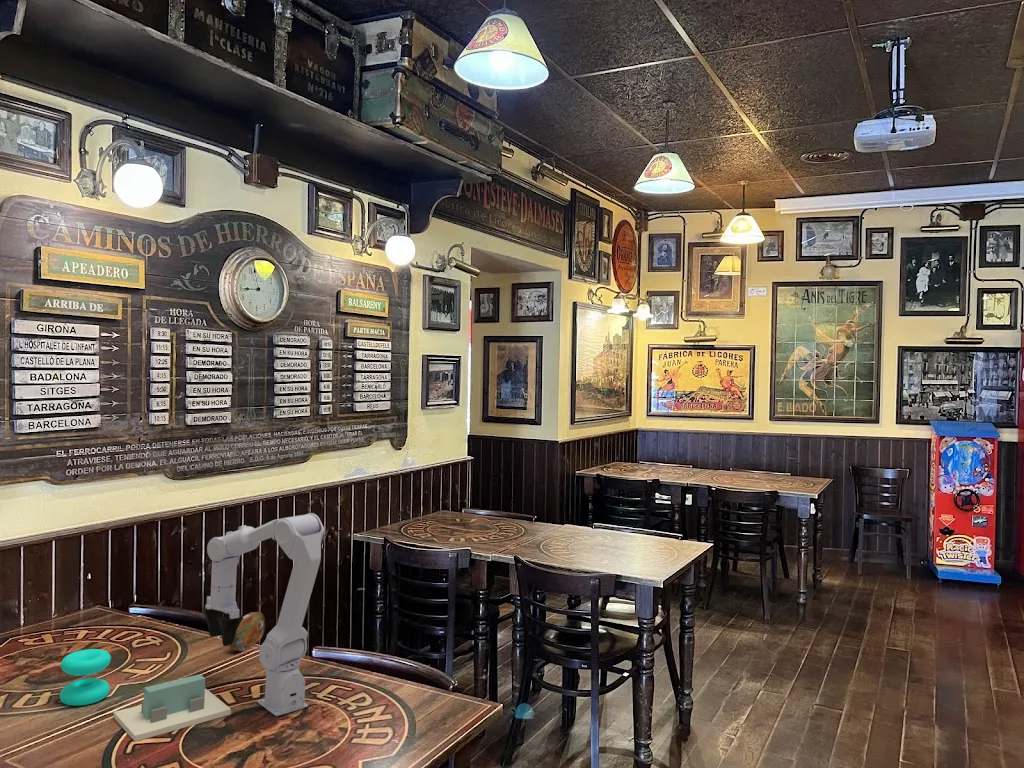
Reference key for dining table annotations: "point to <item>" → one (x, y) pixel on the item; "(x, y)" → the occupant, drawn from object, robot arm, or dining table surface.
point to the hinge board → (170, 717)
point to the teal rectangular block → (173, 695)
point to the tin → (249, 631)
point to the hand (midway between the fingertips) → (221, 640)
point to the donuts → (88, 687)
